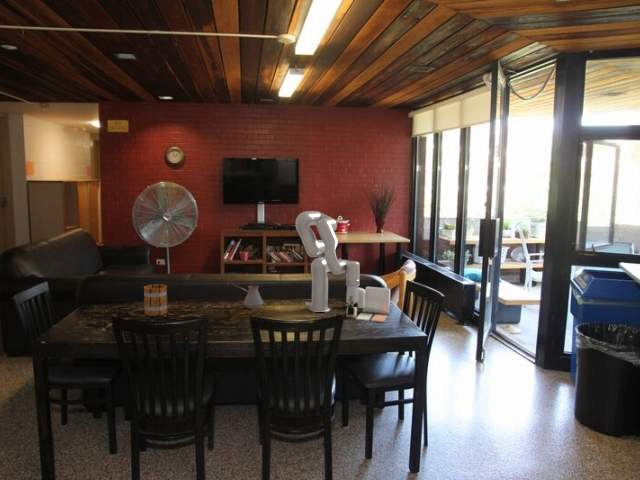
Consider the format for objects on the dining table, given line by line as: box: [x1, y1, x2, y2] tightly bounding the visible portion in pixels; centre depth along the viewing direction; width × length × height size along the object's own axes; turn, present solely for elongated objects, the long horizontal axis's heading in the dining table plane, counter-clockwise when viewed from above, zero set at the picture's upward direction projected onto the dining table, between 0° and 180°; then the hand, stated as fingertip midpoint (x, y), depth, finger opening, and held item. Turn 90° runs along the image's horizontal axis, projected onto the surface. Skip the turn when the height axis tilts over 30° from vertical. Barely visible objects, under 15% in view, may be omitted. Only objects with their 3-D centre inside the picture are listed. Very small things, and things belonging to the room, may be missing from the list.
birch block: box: [345, 307, 358, 319], centre depth 283 cm, size 5×5×5 cm
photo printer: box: [358, 287, 365, 310], centre depth 303 cm, size 10×4×12 cm, turn 67°
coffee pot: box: [227, 281, 264, 310], centre depth 297 cm, size 21×12×15 cm, turn 87°
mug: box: [143, 283, 168, 316], centre depth 284 cm, size 20×14×15 cm
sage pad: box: [355, 312, 374, 322], centre depth 281 cm, size 7×12×1 cm, turn 162°
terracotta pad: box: [370, 314, 388, 323], centre depth 278 cm, size 7×12×1 cm, turn 162°
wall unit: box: [361, 286, 393, 316], centre depth 292 cm, size 16×8×14 cm, turn 72°
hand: (352, 312), depth 282 cm, fingers open, 9 cm apart
